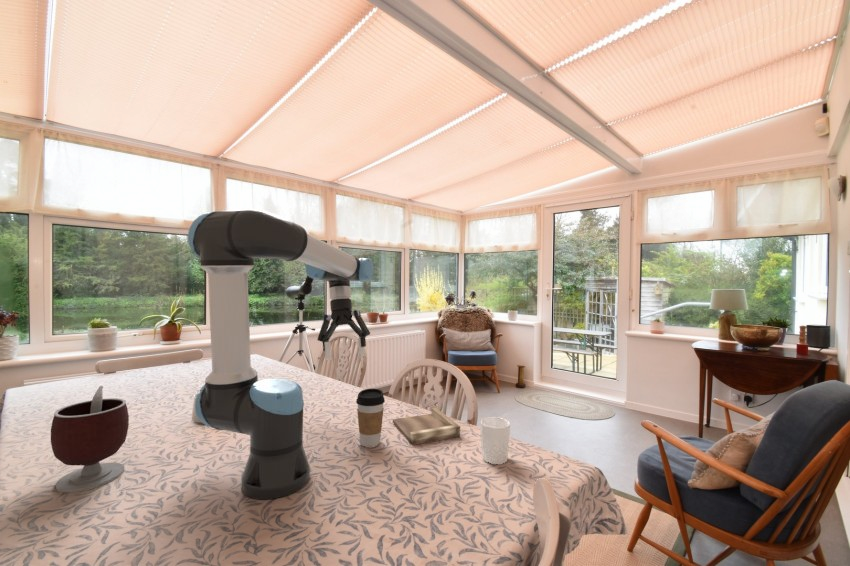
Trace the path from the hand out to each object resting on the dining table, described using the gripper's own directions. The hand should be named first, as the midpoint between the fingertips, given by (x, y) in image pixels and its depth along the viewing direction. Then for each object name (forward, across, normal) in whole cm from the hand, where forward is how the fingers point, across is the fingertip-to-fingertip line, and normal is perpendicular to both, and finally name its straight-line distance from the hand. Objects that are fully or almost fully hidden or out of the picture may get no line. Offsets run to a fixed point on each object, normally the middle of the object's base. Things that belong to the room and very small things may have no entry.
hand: (345, 358), depth 131 cm
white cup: (+31, -51, +10) cm, 60 cm away
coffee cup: (+25, -15, +14) cm, 32 cm away
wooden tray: (+25, -27, -1) cm, 37 cm away
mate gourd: (+20, +39, +54) cm, 70 cm away
